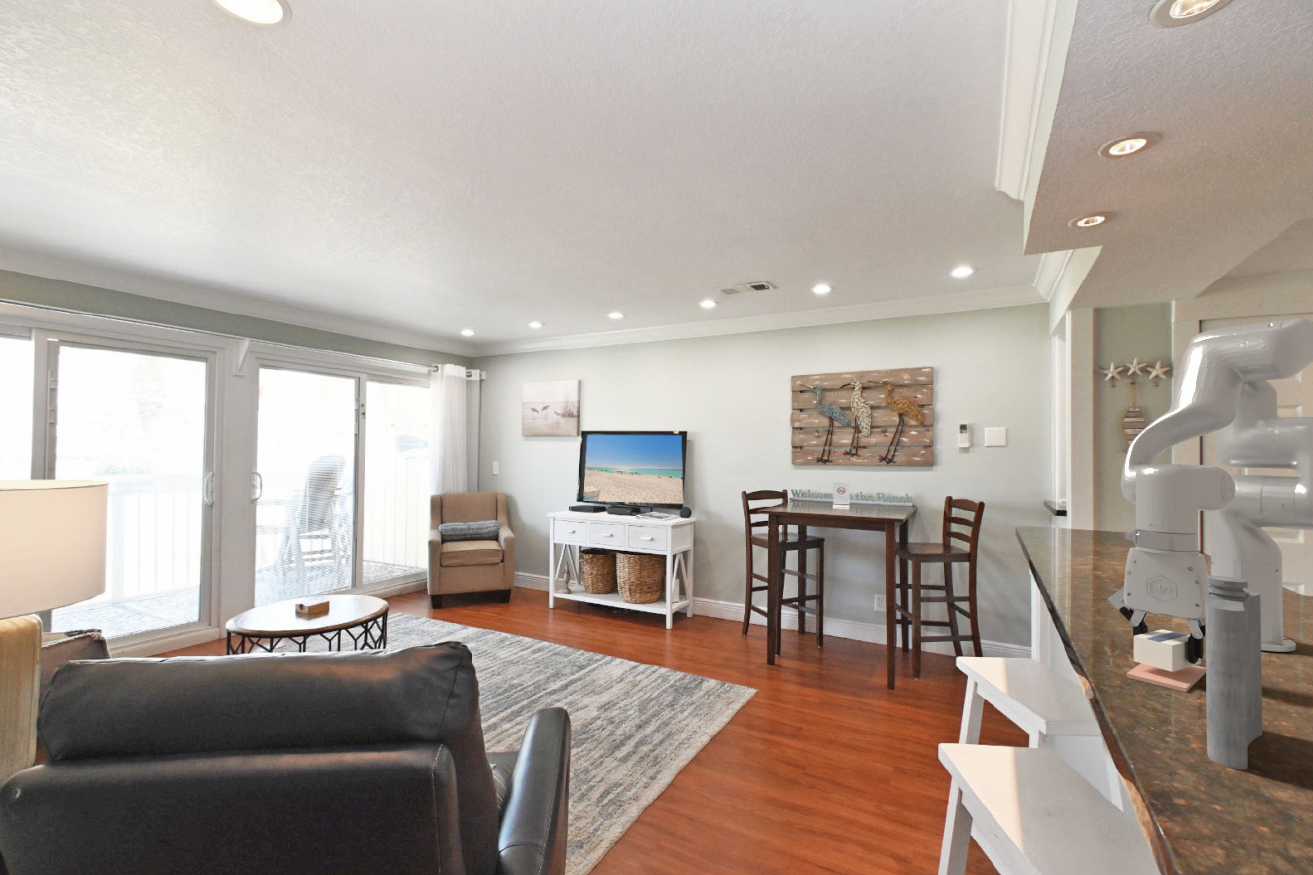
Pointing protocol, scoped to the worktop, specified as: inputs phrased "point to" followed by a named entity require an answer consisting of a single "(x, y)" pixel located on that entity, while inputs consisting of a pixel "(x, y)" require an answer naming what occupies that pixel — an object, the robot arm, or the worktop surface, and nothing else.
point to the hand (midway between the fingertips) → (1167, 654)
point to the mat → (1168, 676)
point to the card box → (1163, 650)
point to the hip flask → (1232, 670)
